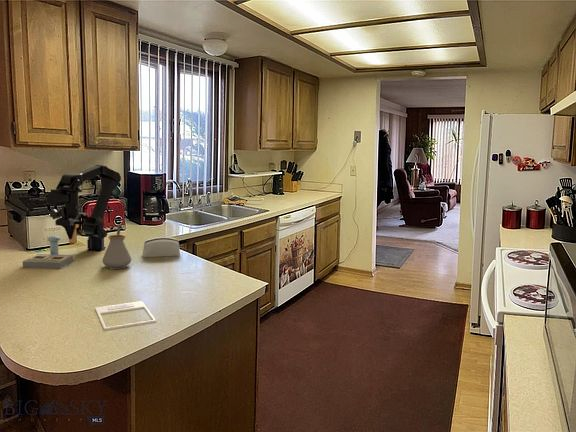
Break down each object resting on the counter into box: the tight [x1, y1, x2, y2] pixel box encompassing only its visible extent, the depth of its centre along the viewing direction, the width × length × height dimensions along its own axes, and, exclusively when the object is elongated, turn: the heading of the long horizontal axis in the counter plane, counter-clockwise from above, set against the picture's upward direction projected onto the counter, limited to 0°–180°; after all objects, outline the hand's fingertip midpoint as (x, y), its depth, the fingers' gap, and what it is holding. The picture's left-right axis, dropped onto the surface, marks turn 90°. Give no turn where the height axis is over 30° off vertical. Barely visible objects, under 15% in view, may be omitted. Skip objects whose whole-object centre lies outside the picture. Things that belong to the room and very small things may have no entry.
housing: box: [22, 253, 75, 270], centre depth 194 cm, size 15×12×3 cm
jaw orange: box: [68, 224, 79, 244], centre depth 207 cm, size 5×5×8 cm
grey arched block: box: [142, 236, 181, 258], centre depth 215 cm, size 17×5×10 cm, turn 110°
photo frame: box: [94, 300, 157, 331], centre depth 144 cm, size 15×1×18 cm
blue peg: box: [46, 235, 61, 255], centre depth 209 cm, size 5×5×8 cm
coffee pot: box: [101, 224, 133, 270], centre depth 199 cm, size 21×12×15 cm, turn 15°
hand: (72, 238), depth 207 cm, fingers closed on jaw orange, 4 cm apart
